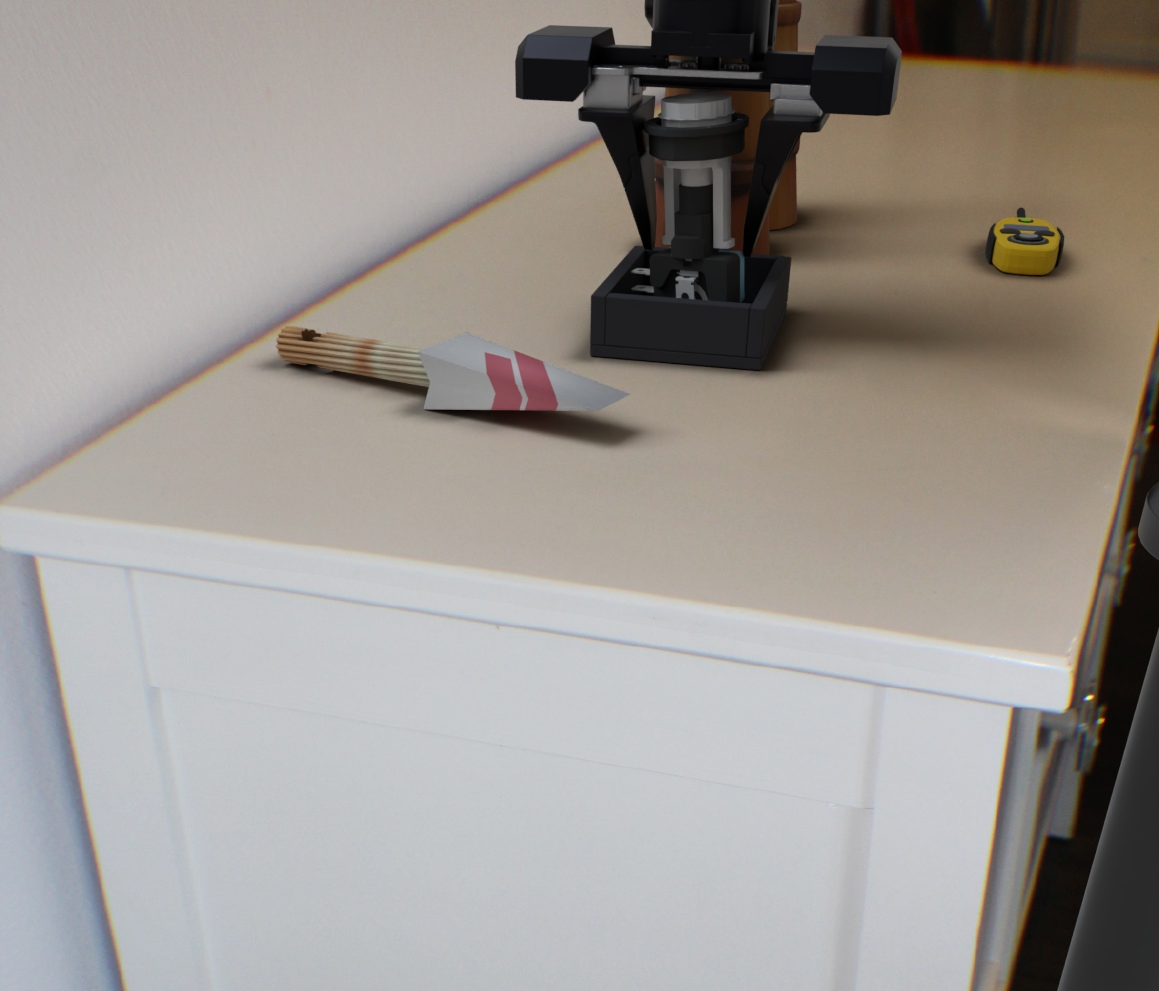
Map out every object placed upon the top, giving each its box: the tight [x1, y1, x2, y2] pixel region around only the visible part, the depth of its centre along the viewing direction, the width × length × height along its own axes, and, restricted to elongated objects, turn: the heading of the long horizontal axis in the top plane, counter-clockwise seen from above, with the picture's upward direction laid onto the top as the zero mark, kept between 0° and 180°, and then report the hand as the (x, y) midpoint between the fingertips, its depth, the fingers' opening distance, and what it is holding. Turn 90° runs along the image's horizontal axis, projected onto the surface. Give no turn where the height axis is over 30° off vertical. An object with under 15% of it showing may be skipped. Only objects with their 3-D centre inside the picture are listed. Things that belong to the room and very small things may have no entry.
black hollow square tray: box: [589, 245, 792, 371], centre depth 78 cm, size 9×11×3 cm
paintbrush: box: [275, 325, 631, 412], centre depth 69 cm, size 4×3×20 cm
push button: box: [631, 92, 749, 303], centre depth 75 cm, size 7×5×10 cm
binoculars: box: [654, 0, 803, 255], centre depth 92 cm, size 18×8×20 cm, turn 162°
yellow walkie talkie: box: [984, 207, 1065, 276], centre depth 95 cm, size 5×2×15 cm
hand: (698, 252), depth 77 cm, fingers closed on push button, 5 cm apart
